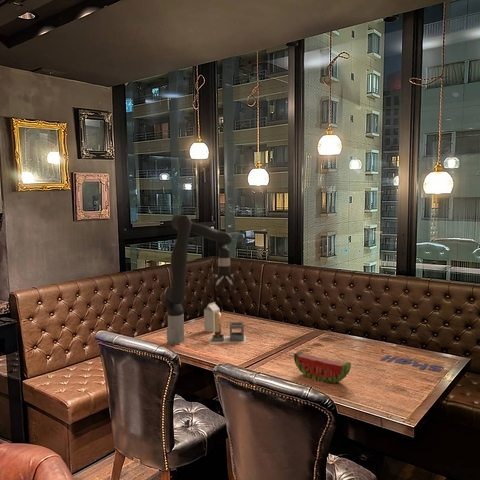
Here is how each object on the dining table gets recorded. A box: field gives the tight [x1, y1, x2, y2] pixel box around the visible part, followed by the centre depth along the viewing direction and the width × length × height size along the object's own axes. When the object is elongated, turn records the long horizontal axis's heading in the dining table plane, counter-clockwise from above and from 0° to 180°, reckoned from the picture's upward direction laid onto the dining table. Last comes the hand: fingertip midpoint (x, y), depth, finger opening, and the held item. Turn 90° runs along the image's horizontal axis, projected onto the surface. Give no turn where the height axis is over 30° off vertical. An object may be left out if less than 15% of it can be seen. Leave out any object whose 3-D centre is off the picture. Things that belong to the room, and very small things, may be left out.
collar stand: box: [211, 321, 245, 342], centre depth 255 cm, size 18×8×9 cm, turn 91°
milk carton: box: [203, 301, 221, 334], centre depth 274 cm, size 7×7×19 cm
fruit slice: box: [293, 350, 352, 384], centre depth 200 cm, size 26×6×10 cm, turn 52°
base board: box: [208, 335, 247, 345], centre depth 256 cm, size 22×14×2 cm, turn 92°
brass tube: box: [214, 312, 222, 338], centre depth 255 cm, size 4×4×16 cm
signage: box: [379, 354, 445, 372], centre depth 217 cm, size 28×1×10 cm
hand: (224, 290), depth 272 cm, fingers open, 8 cm apart
